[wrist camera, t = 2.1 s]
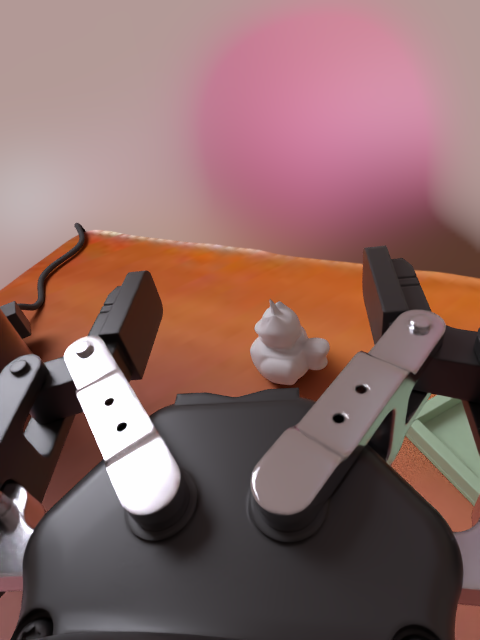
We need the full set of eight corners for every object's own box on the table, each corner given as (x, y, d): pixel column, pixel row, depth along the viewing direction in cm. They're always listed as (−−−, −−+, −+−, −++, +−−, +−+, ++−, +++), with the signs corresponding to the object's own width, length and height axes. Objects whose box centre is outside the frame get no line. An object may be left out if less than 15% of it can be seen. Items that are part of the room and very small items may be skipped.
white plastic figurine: (263, 345, 38) (249, 275, 33) (335, 352, 36) (332, 279, 31) (246, 390, 35) (228, 320, 29) (325, 402, 32) (321, 327, 27)
